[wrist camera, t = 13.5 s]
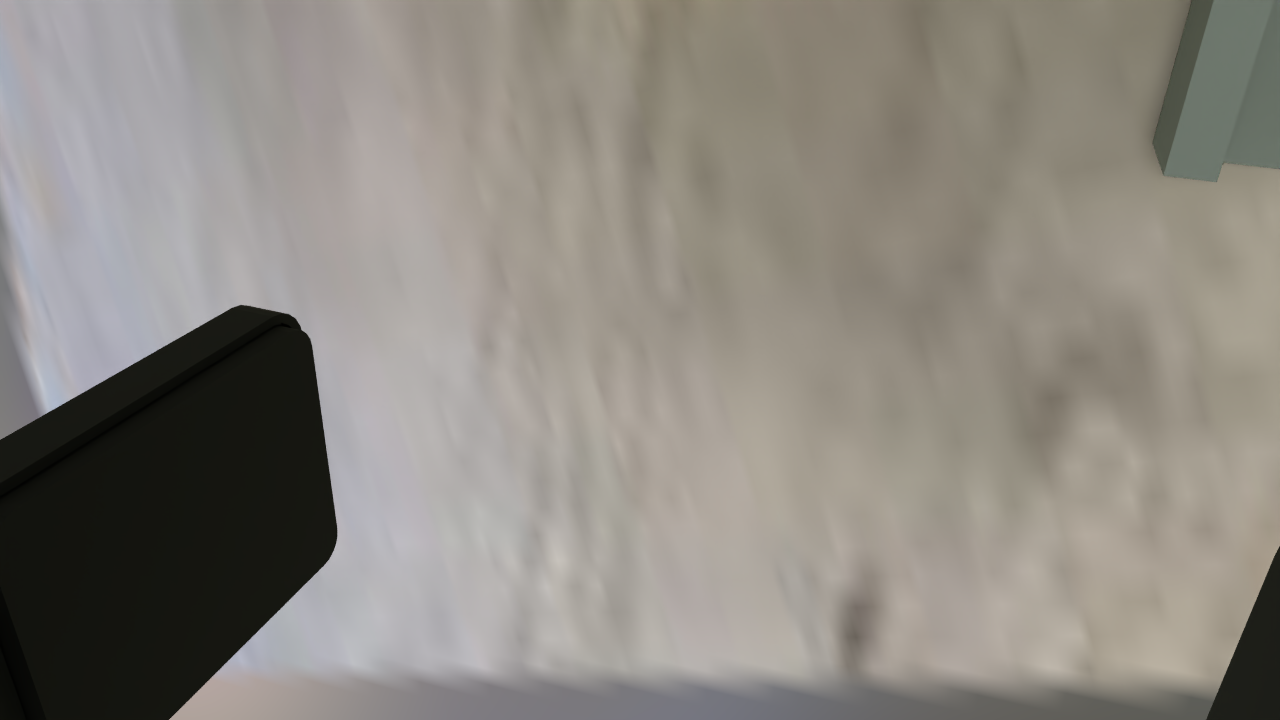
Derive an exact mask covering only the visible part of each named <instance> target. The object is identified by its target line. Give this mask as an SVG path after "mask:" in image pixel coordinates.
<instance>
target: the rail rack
mask: <svg viewBox="0 0 1280 720" xmlns="http://www.w3.org/2000/svg"><path fill="white" fill-rule="evenodd" d="M1153 146H1154V149H1155V152H1156V155H1157V158H1158V161H1159V164H1160V167H1161V170H1162V173H1163V176H1171V177H1179V178H1187V179H1195V180H1204V181H1212V182H1217V180H1218V177H1219V174H1220V171H1221V167H1222V164H1223V162H1224V163H1232V164H1241V165H1249V166H1258V167H1266V168H1275V169H1280V0H1192V2H1191V6H1190V10H1189V13H1188V17H1187V21H1186V24H1185V28H1184V31H1183V35H1182V39H1181V42H1180V46H1179V49H1178V53H1177V57H1176V60H1175V64H1174V67H1173V71H1172V75H1171V78H1170V82H1169V85H1168V89H1167V93H1166V96H1165V100H1164V104H1163V107H1162V111H1161V114H1160V118H1159V122H1158V125H1157V129H1156V132H1155V136H1154V140H1153Z"/></svg>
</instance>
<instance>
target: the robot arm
mask: <svg viewBox="0 0 1280 720" xmlns="http://www.w3.org/2000/svg"><path fill="white" fill-rule="evenodd" d="M336 541H337V523H336V516H335V509H334V502H333V494H332V487H331V480H330V473H329V465H328V458H327V451H326V444H325V436H324V429H323V422H322V415H321V407H320V400H319V393H318V386H317V378H316V371H315V364H314V357H313V349H312V344H311V341H310V338H309V337H308V335H307V334H306V333H305V332H303V331H302V330H301V326H300V325H299V323H298V322H297V320H296V319H295V318H294V317H292V316H291V315H289V314H285V313H280V312H275V311H271V310H266V309H261V308H256V307H251V306H244V305H239V306H236V307H234V308H231V309H229V310H228V311H226V312H224V313H222V314H221V315H219V316H217V317H215V318H214V319H212V320H210V321H208V322H207V323H205V324H203V325H201V326H200V327H198V328H196V329H194V330H193V331H191V332H189V333H187V334H186V335H184V336H182V337H180V338H179V339H177V340H175V341H173V342H171V343H170V344H168V345H166V346H164V347H163V348H161V349H159V350H157V351H156V352H154V353H152V354H150V355H149V356H147V357H145V358H143V359H142V360H140V361H138V362H136V363H135V364H133V365H131V366H129V367H128V368H126V369H124V370H122V371H121V372H119V373H117V374H115V375H114V376H112V377H110V378H108V379H107V380H105V381H103V382H101V383H99V384H98V385H96V386H94V387H92V388H91V389H89V390H87V391H85V392H84V393H82V394H80V395H78V396H77V397H75V398H73V399H71V400H70V401H68V402H66V403H64V404H63V405H61V406H59V407H57V408H56V409H54V410H52V411H50V412H49V413H47V414H45V415H43V416H42V417H40V418H38V419H36V420H35V421H33V422H31V423H29V424H27V425H26V426H24V427H22V428H21V429H19V430H17V431H15V432H13V433H12V434H10V435H8V436H6V437H5V438H3V439H1V440H0V720H169V719H170V718H171V717H172V716H173V715H174V714H175V713H176V712H177V711H178V710H179V709H180V708H181V707H182V706H183V705H184V704H185V703H186V702H187V701H188V700H189V699H190V698H191V697H192V696H193V695H194V694H195V693H196V692H197V691H198V690H199V689H200V688H201V687H202V686H203V685H204V684H205V683H206V682H207V681H208V680H209V679H210V678H211V677H212V676H213V675H214V674H215V673H216V672H217V671H218V670H219V669H220V668H221V667H222V666H223V665H224V664H225V663H226V662H227V661H228V660H229V659H230V658H231V657H232V656H233V655H234V654H235V653H236V652H237V651H238V650H239V649H240V648H241V647H242V646H243V645H244V644H245V643H246V642H247V641H248V640H250V639H251V638H252V637H253V636H254V635H255V634H256V633H257V632H258V631H259V630H260V629H261V628H262V627H263V626H264V625H265V624H266V623H267V622H268V621H269V620H270V619H271V618H272V617H273V616H274V615H275V614H276V613H277V612H278V611H279V610H280V609H281V608H282V607H283V606H284V605H285V604H286V603H287V602H288V601H289V600H290V599H291V598H292V597H293V596H294V595H295V594H296V593H297V592H298V591H299V590H300V589H301V588H302V587H303V586H304V585H305V584H306V583H307V582H308V581H309V580H310V579H311V578H312V577H313V576H314V575H315V574H316V573H317V572H318V571H319V570H320V569H321V568H322V567H323V566H324V565H325V564H326V562H327V561H328V560H329V558H330V557H331V555H332V553H333V551H334V548H335V545H336ZM1206 720H1280V547H1279V549H1278V550H1277V552H1276V554H1275V556H1274V559H1273V561H1272V564H1271V566H1270V568H1269V571H1268V573H1267V576H1266V578H1265V580H1264V583H1263V585H1262V588H1261V590H1260V592H1259V595H1258V597H1257V600H1256V602H1255V604H1254V607H1253V609H1252V611H1251V614H1250V616H1249V619H1248V621H1247V623H1246V626H1245V628H1244V631H1243V633H1242V635H1241V638H1240V640H1239V643H1238V645H1237V647H1236V650H1235V652H1234V655H1233V657H1232V659H1231V662H1230V664H1229V667H1228V669H1227V671H1226V674H1225V676H1224V678H1223V681H1222V683H1221V686H1220V688H1219V690H1218V693H1217V695H1216V698H1215V700H1214V702H1213V705H1212V707H1211V710H1210V712H1209V714H1208V717H1207V719H1206Z"/></svg>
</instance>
